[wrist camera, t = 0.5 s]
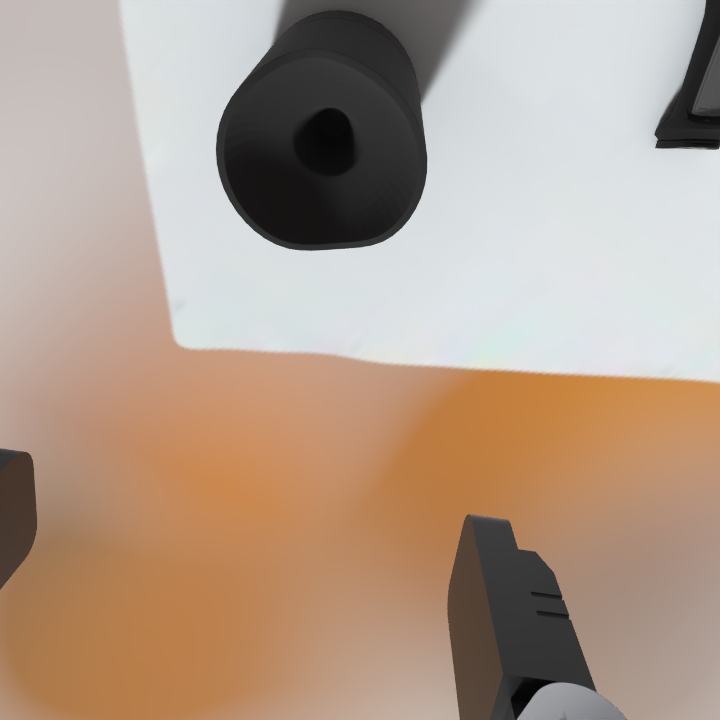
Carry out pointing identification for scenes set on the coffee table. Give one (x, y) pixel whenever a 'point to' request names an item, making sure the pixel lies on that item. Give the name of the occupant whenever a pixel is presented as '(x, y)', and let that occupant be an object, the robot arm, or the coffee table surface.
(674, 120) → the electric trimmer
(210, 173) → the coffee table surface
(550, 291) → the coffee table surface
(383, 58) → the pen holder
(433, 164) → the coffee table surface
